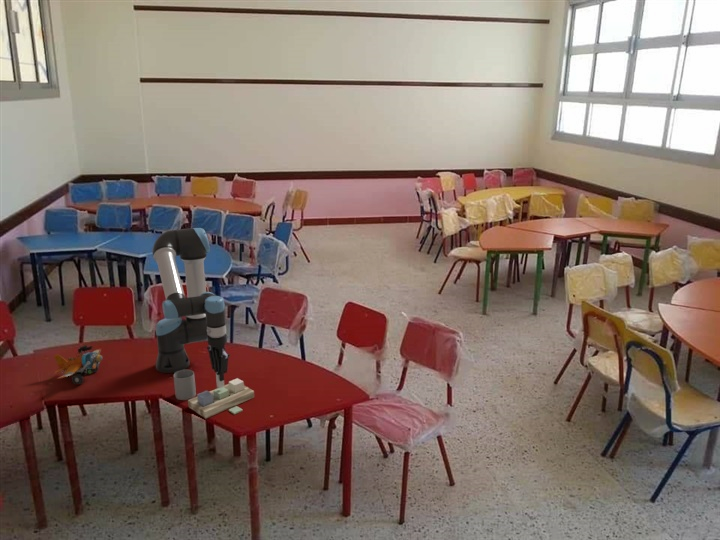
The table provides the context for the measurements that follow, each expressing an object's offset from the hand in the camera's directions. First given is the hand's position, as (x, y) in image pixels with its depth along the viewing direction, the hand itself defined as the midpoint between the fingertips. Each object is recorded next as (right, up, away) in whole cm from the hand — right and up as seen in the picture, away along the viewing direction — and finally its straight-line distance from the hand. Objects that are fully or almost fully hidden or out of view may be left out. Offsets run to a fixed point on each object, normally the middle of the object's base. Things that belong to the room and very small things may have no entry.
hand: (220, 386), depth 240 cm
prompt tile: (+7, -9, -5) cm, 12 cm away
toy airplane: (-68, -1, +22) cm, 72 cm away
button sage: (0, -6, +1) cm, 6 cm away
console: (0, -7, +2) cm, 7 cm away
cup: (-17, -5, +7) cm, 19 cm away
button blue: (-5, -6, -4) cm, 9 cm away
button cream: (+5, -3, +6) cm, 9 cm away
